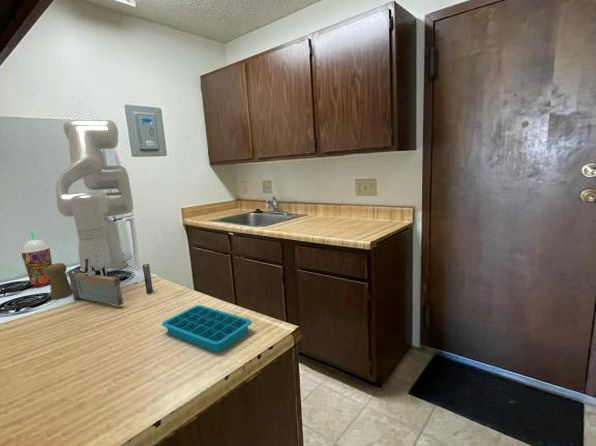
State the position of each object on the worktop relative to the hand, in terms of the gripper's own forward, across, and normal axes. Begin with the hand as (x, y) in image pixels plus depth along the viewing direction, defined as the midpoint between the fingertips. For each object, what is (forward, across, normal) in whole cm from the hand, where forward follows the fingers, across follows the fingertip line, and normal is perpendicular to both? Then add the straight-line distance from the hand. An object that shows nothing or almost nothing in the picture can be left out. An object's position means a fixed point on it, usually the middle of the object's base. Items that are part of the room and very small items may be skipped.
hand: (102, 288), depth 102 cm
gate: (+2, +6, +2) cm, 6 cm away
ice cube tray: (+2, +31, +38) cm, 49 cm away
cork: (+3, -5, -16) cm, 17 cm away
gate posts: (+3, 0, +3) cm, 4 cm away
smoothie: (+4, -19, -31) cm, 36 cm away
